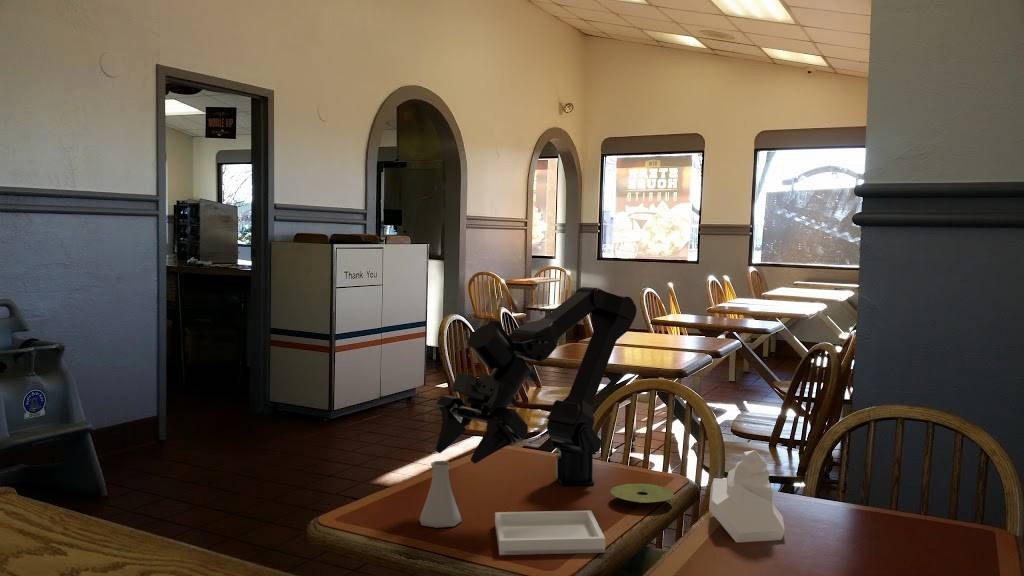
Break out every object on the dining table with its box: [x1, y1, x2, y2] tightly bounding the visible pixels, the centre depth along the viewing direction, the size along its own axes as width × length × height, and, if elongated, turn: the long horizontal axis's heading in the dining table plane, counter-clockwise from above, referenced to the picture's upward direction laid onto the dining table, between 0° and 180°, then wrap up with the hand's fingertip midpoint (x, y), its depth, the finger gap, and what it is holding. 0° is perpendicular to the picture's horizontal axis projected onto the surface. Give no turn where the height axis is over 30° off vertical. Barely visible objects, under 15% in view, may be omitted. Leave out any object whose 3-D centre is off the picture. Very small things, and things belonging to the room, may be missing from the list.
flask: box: [419, 460, 463, 529], centre depth 139 cm, size 7×7×10 cm
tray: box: [494, 510, 606, 556], centre depth 132 cm, size 16×13×2 cm
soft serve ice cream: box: [708, 449, 785, 543], centre depth 136 cm, size 12×15×14 cm
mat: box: [610, 483, 675, 505], centre depth 150 cm, size 11×11×2 cm
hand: (454, 456), depth 141 cm, fingers open, 9 cm apart
